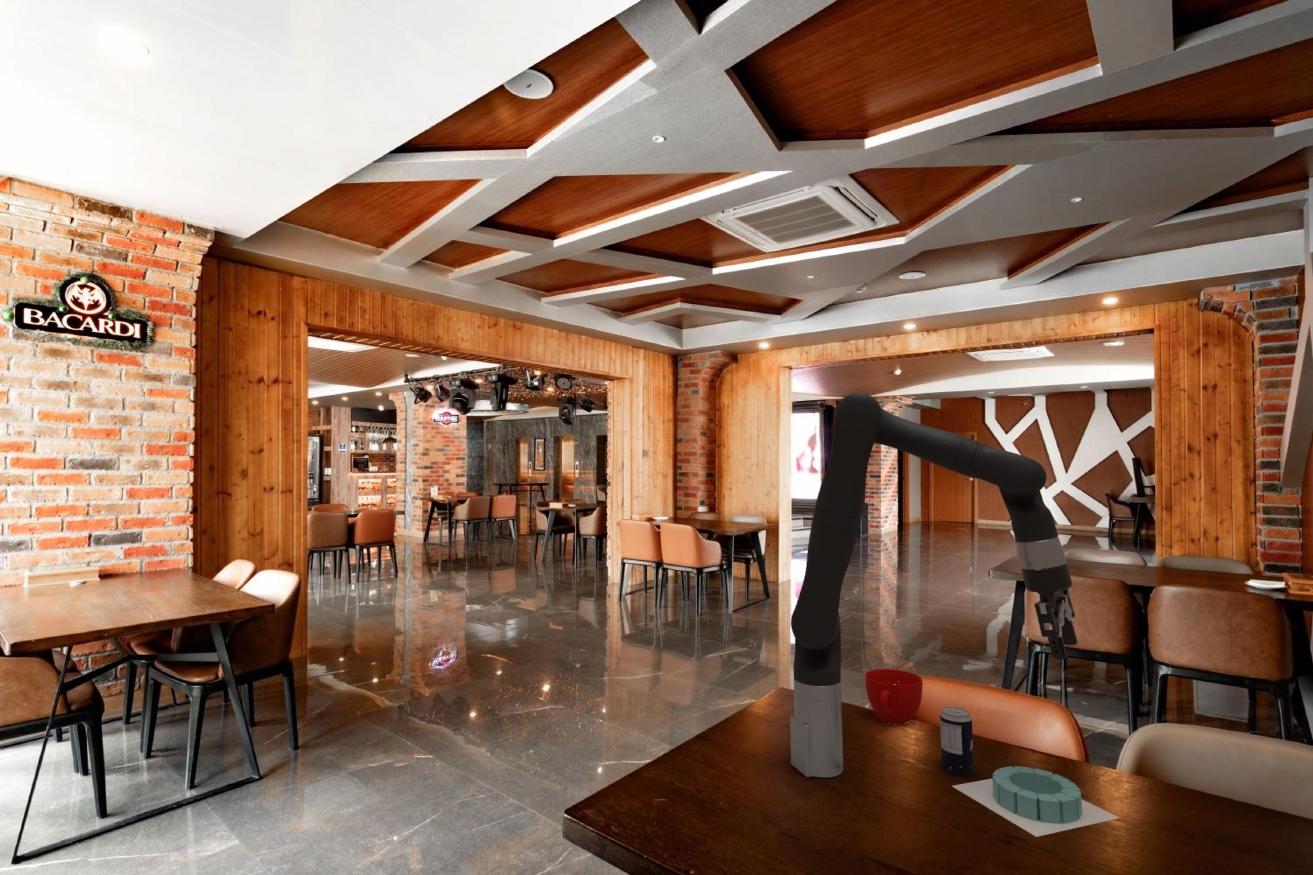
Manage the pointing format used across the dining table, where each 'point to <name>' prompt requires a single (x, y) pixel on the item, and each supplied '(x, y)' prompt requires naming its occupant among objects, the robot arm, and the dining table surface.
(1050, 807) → the ring
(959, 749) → the beverage can
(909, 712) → the ceramic cup
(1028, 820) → the mat
